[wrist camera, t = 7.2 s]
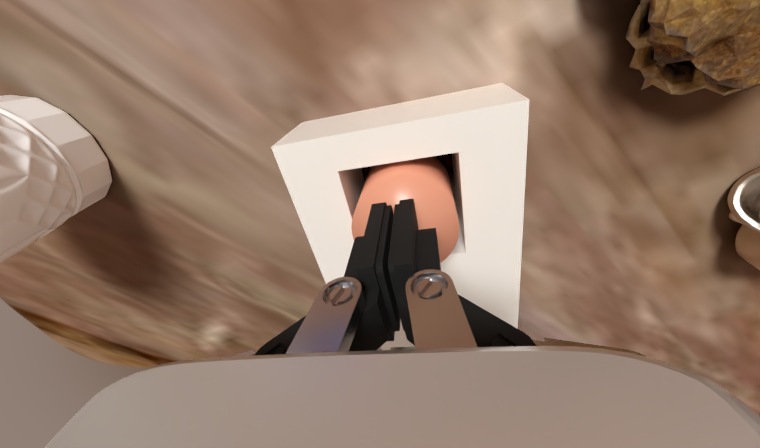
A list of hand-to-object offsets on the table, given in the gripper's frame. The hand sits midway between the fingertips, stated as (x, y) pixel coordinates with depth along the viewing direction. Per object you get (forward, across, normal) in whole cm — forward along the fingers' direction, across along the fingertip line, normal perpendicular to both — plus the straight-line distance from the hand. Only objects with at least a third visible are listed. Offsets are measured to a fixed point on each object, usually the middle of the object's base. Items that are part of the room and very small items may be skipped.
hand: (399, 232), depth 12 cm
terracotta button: (+4, 0, 0) cm, 4 cm away
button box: (+6, 0, +6) cm, 8 cm away
